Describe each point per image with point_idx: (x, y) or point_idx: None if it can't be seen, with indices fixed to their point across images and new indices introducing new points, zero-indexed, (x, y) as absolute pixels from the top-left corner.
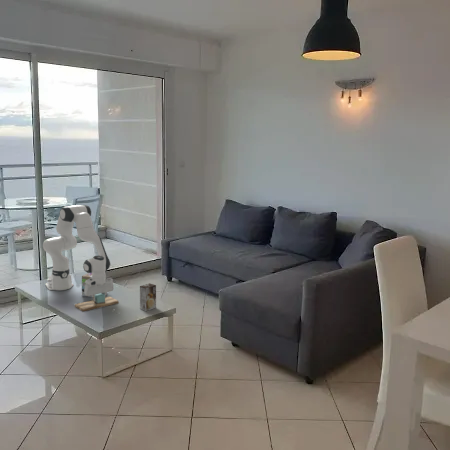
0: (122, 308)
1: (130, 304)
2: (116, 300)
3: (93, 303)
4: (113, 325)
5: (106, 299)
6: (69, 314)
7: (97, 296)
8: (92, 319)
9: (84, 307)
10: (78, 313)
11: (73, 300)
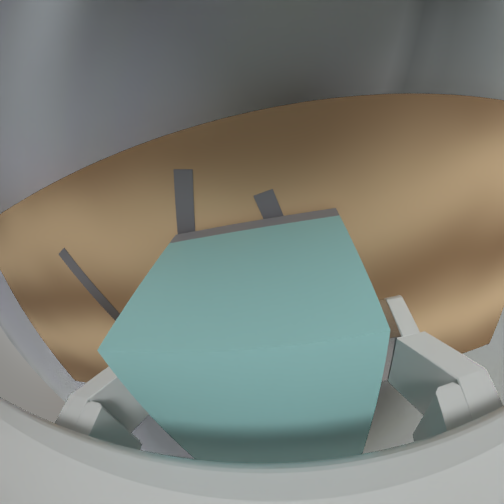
0: (402, 423)
1: (495, 374)
2: (491, 323)
3: None
4: None
5: (440, 226)
6: (23, 351)
7: (194, 454)
8: (159, 452)
9: (74, 358)
10: (63, 371)
11: (5, 13)
